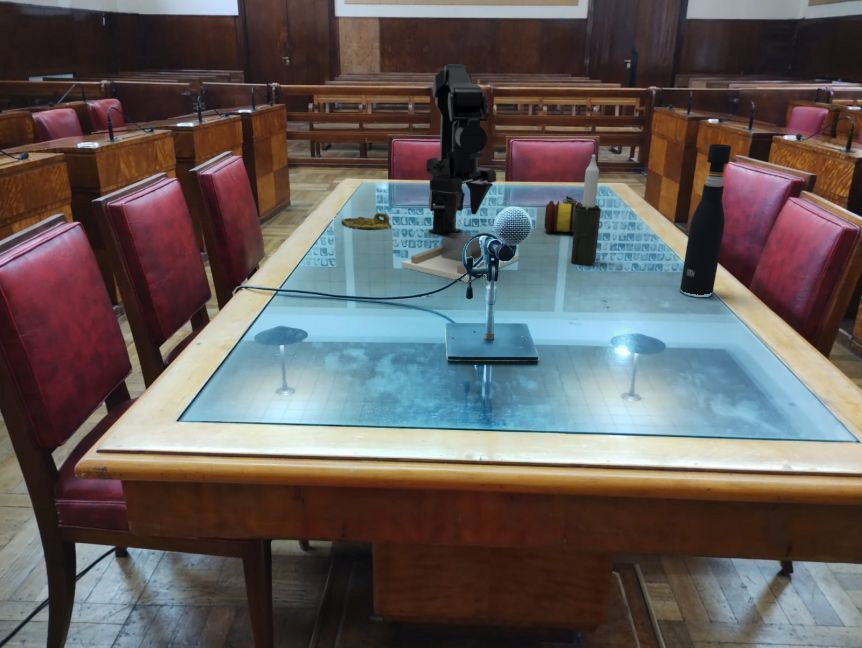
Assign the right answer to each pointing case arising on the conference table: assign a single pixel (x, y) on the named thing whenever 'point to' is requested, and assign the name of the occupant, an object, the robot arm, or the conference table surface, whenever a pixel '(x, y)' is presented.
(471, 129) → the robot arm
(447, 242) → the block
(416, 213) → the conference table surface
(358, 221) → the seal
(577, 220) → the candle
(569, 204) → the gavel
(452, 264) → the plate
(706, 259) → the black water bottle
